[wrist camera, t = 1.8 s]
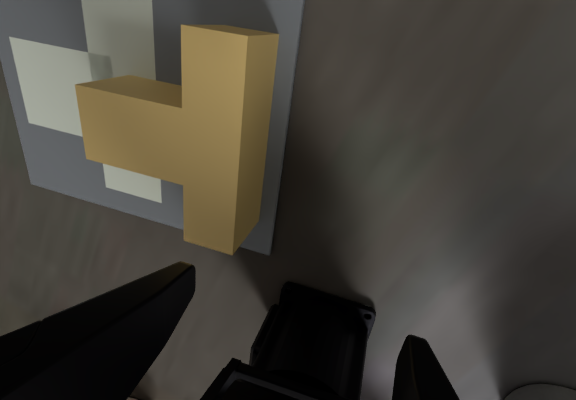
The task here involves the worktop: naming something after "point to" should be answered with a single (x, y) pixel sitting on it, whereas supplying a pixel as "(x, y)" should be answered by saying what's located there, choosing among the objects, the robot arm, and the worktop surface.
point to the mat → (119, 62)
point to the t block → (194, 128)
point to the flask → (542, 393)
